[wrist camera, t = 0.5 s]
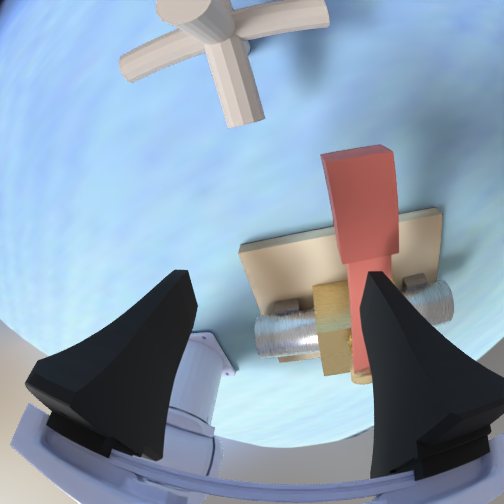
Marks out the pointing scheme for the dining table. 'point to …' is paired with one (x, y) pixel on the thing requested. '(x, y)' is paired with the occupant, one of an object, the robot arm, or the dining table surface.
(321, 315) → the ball valve
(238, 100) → the pipe connector
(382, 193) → the lever
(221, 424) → the dining table surface
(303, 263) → the mounting board
